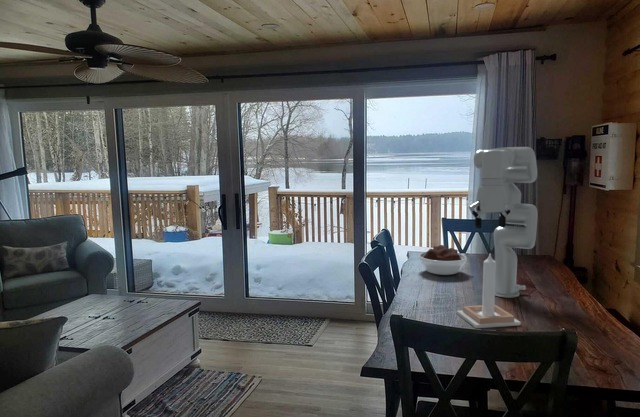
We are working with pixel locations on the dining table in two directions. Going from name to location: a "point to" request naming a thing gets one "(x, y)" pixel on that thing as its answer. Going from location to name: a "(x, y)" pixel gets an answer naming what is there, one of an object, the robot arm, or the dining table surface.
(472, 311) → the tray
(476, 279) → the dining table surface
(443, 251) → the white bowl with food
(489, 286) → the candle
